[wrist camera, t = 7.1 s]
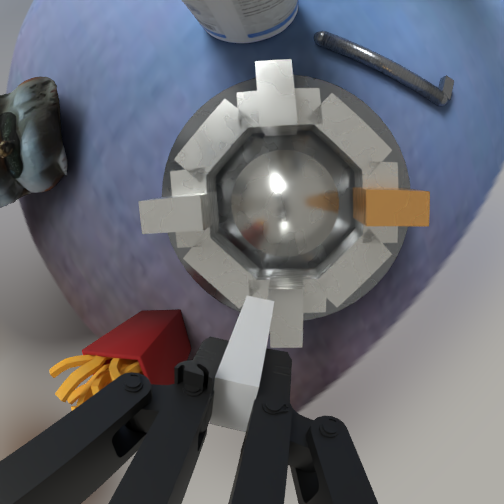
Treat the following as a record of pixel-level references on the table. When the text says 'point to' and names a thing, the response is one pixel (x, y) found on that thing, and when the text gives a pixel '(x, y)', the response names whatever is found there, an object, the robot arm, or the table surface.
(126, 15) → the table surface
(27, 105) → the lucky cat figurine
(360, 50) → the pin spanner
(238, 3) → the supplement tub
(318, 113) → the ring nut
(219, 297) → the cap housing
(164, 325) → the french fries
